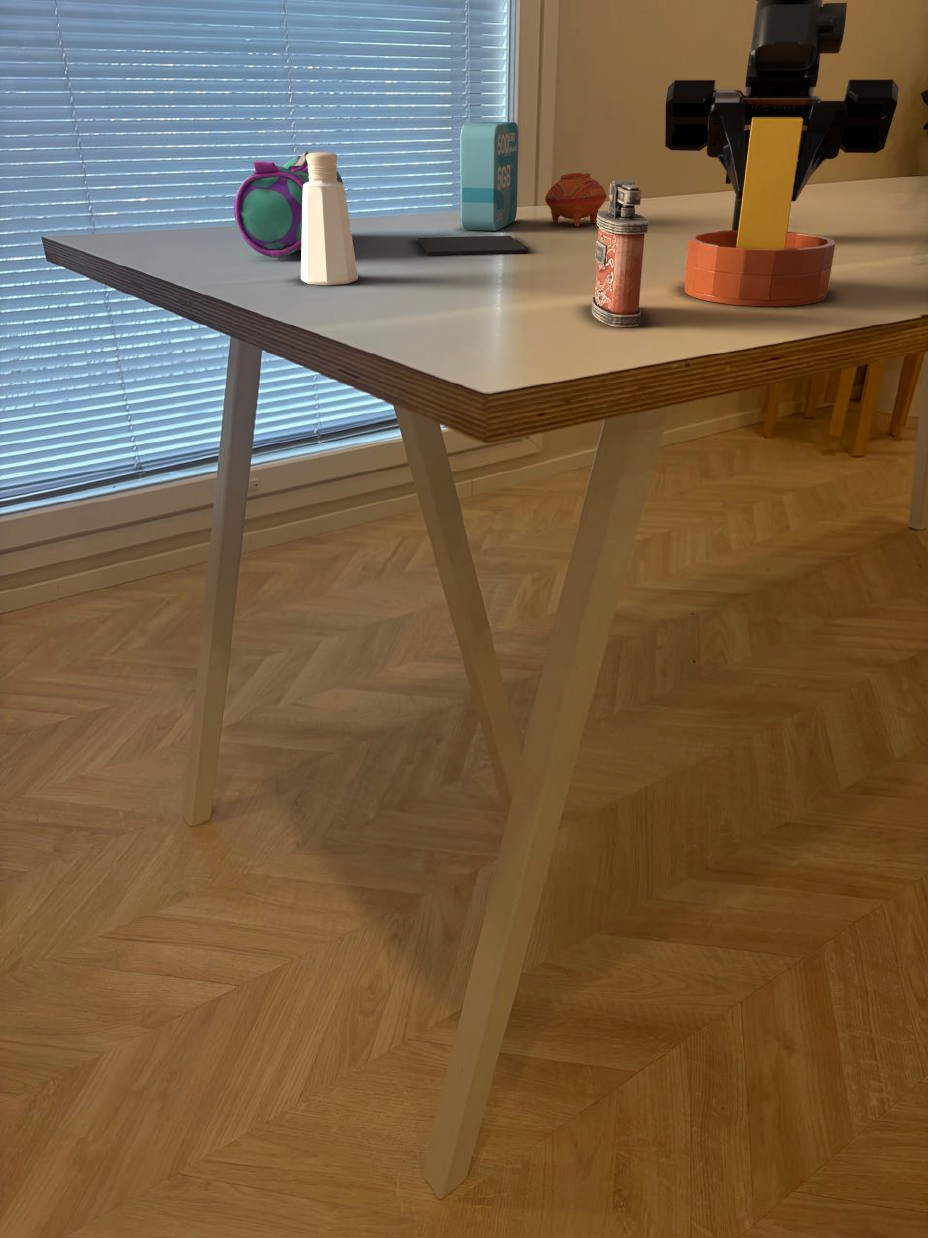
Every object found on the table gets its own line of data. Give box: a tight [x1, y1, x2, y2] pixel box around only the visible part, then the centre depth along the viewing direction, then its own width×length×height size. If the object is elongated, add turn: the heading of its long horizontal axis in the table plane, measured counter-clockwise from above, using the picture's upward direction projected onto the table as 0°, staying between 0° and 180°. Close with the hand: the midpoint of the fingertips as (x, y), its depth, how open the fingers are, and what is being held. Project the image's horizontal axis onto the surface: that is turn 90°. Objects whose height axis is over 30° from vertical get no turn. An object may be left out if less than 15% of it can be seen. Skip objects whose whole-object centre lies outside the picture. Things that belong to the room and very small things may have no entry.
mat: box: [417, 235, 528, 256], centre depth 113 cm, size 11×11×1 cm
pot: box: [544, 172, 608, 228], centre depth 129 cm, size 8×8×7 cm
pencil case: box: [233, 149, 344, 259], centre depth 111 cm, size 21×9×10 cm, turn 178°
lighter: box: [591, 179, 649, 328], centre depth 78 cm, size 8×3×10 cm, turn 5°
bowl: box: [683, 229, 836, 307], centre depth 87 cm, size 12×12×4 cm
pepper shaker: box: [300, 151, 359, 286], centre depth 92 cm, size 5×5×11 cm
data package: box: [459, 121, 519, 232], centre depth 126 cm, size 12×4×12 cm, turn 164°
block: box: [737, 117, 803, 249], centre depth 85 cm, size 4×4×12 cm
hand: (766, 197), depth 83 cm, fingers closed on block, 4 cm apart
